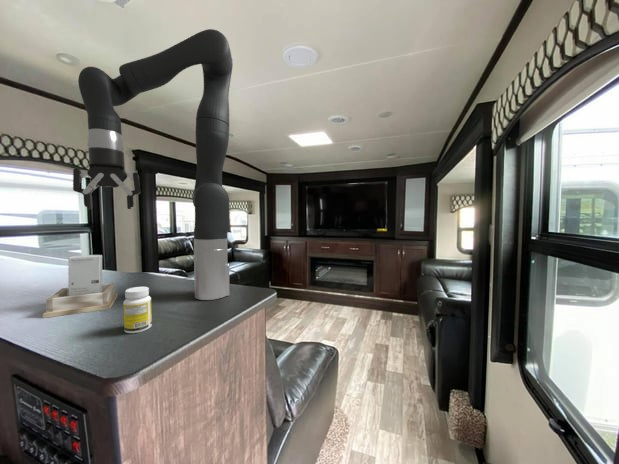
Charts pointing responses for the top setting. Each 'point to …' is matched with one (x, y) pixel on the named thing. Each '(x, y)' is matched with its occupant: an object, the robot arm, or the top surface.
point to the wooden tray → (79, 302)
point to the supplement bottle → (137, 310)
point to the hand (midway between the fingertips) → (110, 209)
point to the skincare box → (85, 274)
